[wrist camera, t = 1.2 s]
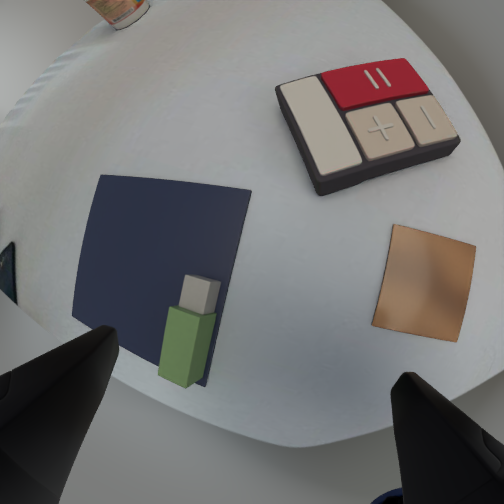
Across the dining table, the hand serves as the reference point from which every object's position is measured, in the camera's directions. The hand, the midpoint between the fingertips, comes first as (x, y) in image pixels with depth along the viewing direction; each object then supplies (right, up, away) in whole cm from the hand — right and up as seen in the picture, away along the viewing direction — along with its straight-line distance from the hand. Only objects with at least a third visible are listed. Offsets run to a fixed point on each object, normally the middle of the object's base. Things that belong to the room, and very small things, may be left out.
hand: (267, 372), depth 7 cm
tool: (-6, -4, +19) cm, 20 cm away
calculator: (+11, +16, +16) cm, 25 cm away
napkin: (-13, +2, +22) cm, 26 cm away
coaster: (+15, 0, +13) cm, 20 cm away
